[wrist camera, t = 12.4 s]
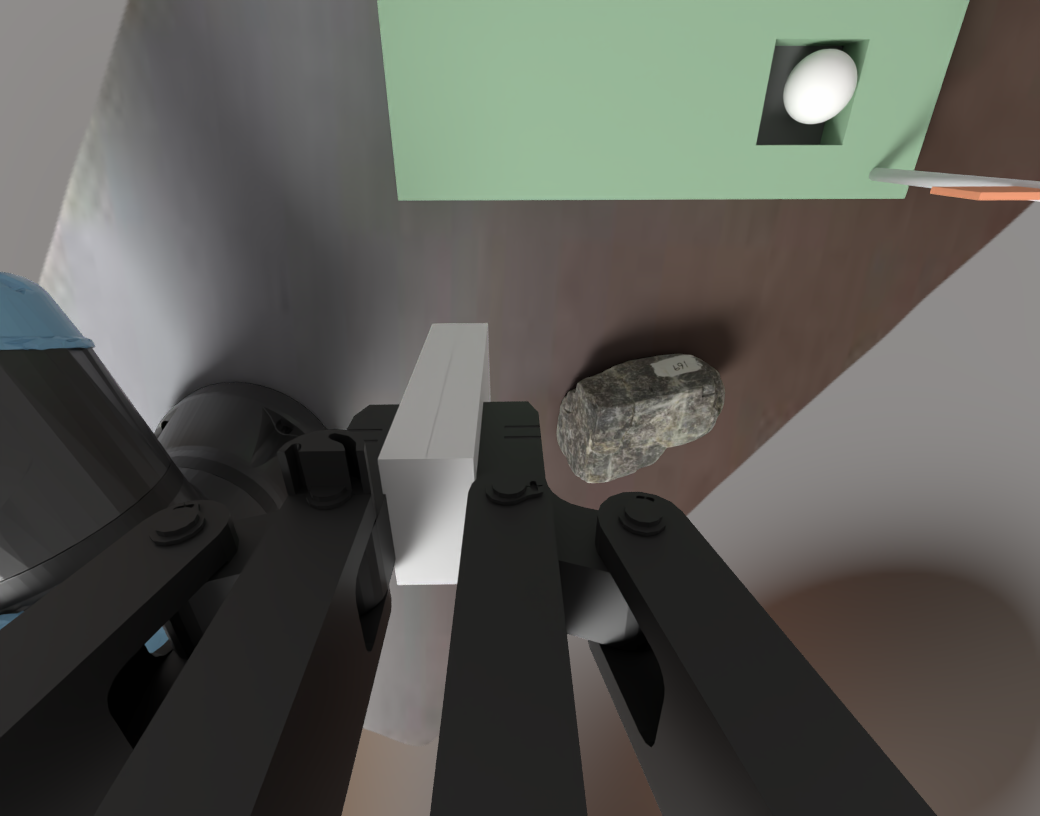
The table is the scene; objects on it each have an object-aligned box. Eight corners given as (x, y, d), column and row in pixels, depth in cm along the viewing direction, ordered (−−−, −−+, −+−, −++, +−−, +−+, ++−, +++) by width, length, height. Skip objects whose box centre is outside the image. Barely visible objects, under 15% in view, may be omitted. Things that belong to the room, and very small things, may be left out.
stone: (637, 309, 45) (730, 337, 37) (659, 369, 49) (747, 407, 41) (518, 405, 42) (589, 459, 35) (551, 461, 47) (622, 519, 39)
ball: (859, 123, 31) (829, 123, 35) (880, 42, 29) (845, 51, 33) (791, 125, 31) (768, 125, 35) (807, 45, 29) (781, 53, 33)
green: (406, 195, 37) (335, 237, 22) (385, -19, 31) (268, -164, 16) (876, 194, 37) (1125, 233, 22) (939, -17, 32) (1332, -155, 17)
